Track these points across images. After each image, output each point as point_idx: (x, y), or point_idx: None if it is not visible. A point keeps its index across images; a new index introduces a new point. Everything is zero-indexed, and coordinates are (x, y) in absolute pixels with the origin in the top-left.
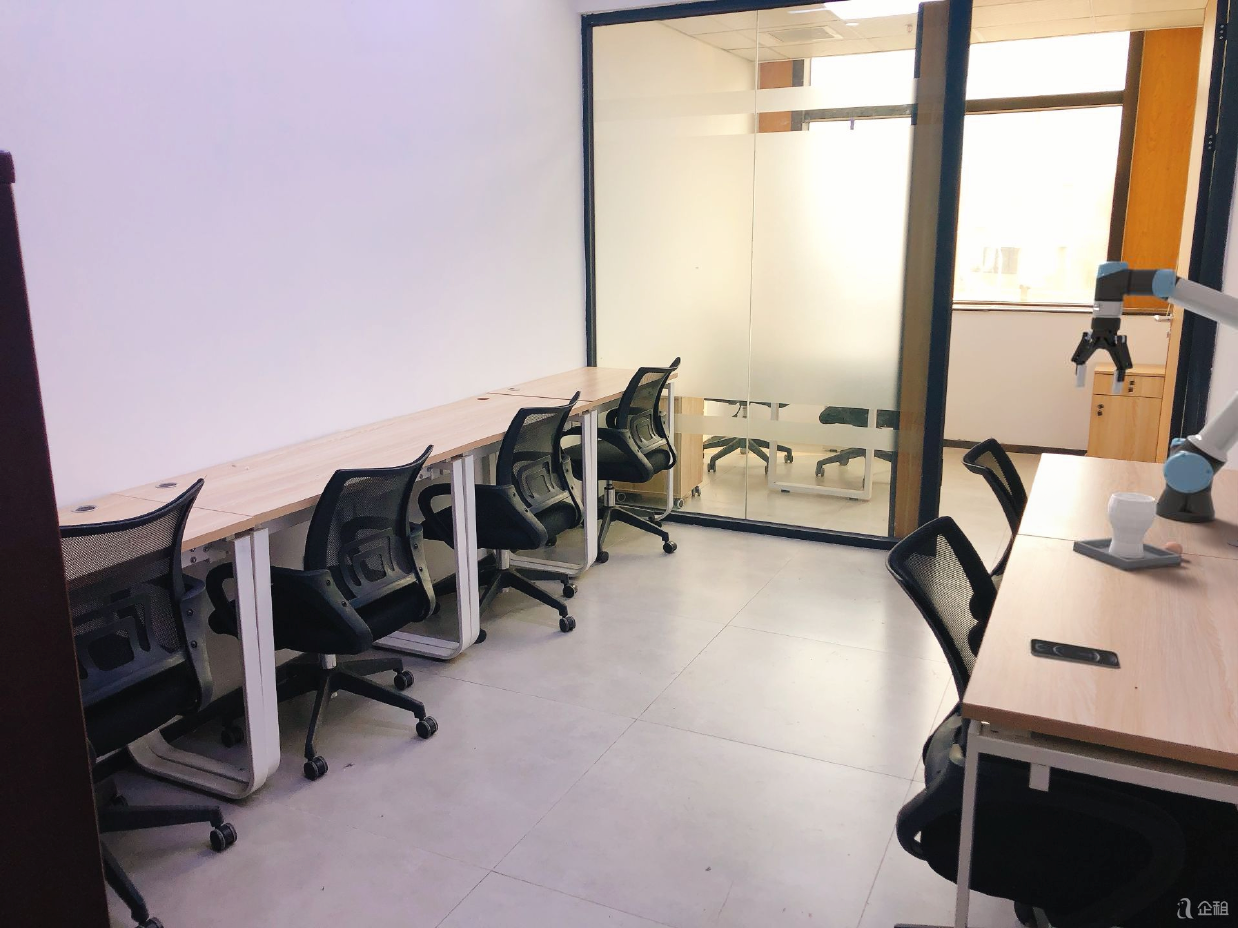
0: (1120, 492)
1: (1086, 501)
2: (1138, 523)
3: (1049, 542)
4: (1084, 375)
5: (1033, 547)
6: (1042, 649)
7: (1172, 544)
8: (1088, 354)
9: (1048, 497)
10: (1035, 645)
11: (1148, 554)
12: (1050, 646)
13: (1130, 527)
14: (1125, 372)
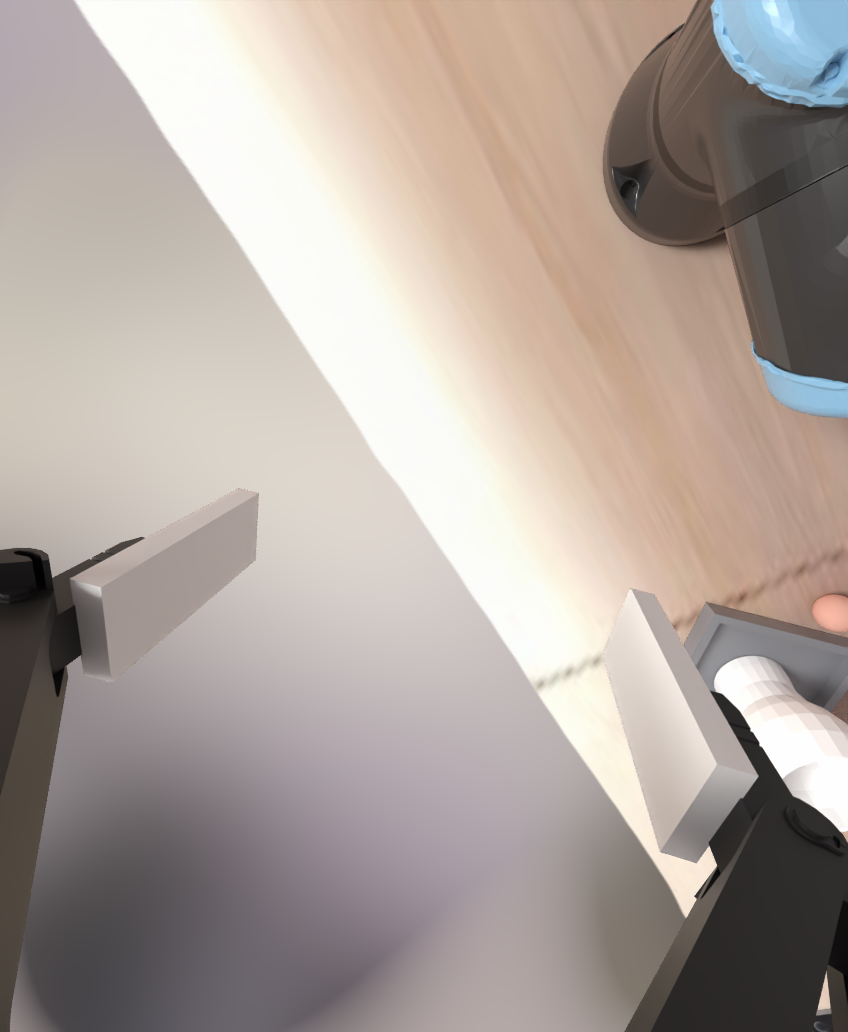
0: (782, 778)
1: (418, 290)
2: (828, 773)
3: (592, 696)
4: (193, 547)
5: (592, 740)
6: (825, 1030)
7: (845, 630)
8: (28, 821)
9: (341, 355)
10: (814, 1026)
11: (786, 649)
12: (829, 1021)
13: (804, 766)
14: (792, 795)
